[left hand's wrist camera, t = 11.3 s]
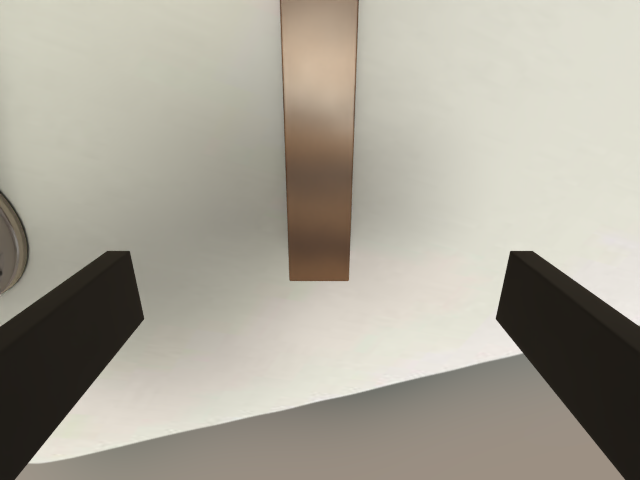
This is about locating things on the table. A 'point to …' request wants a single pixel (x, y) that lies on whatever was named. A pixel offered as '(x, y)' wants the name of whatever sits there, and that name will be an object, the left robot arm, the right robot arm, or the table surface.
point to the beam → (319, 133)
